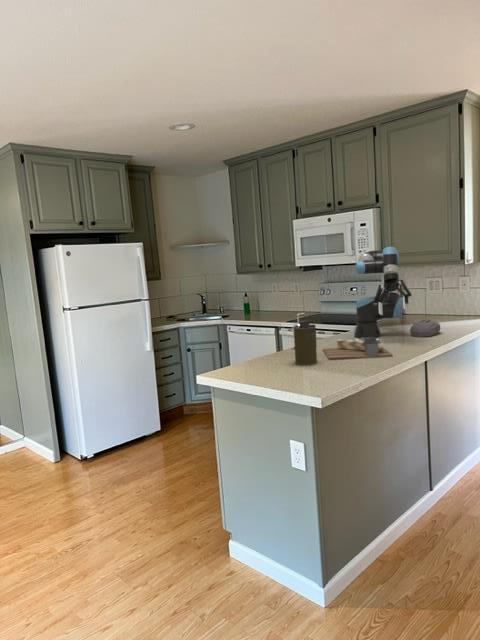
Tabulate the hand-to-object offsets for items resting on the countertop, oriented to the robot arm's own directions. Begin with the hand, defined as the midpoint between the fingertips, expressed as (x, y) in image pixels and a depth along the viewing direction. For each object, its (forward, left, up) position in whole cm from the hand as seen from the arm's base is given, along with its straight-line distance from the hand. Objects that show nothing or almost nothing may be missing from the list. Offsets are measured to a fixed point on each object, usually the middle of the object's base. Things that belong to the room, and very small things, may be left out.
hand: (392, 312), depth 252 cm
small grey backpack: (-27, +25, -18) cm, 41 cm away
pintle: (+19, -13, -12) cm, 26 cm away
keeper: (+21, -17, -17) cm, 32 cm away
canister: (+30, -49, -18) cm, 60 cm away
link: (+13, -20, -16) cm, 29 cm away
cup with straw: (-8, -49, -18) cm, 53 cm away
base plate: (+15, -23, -18) cm, 33 cm away
